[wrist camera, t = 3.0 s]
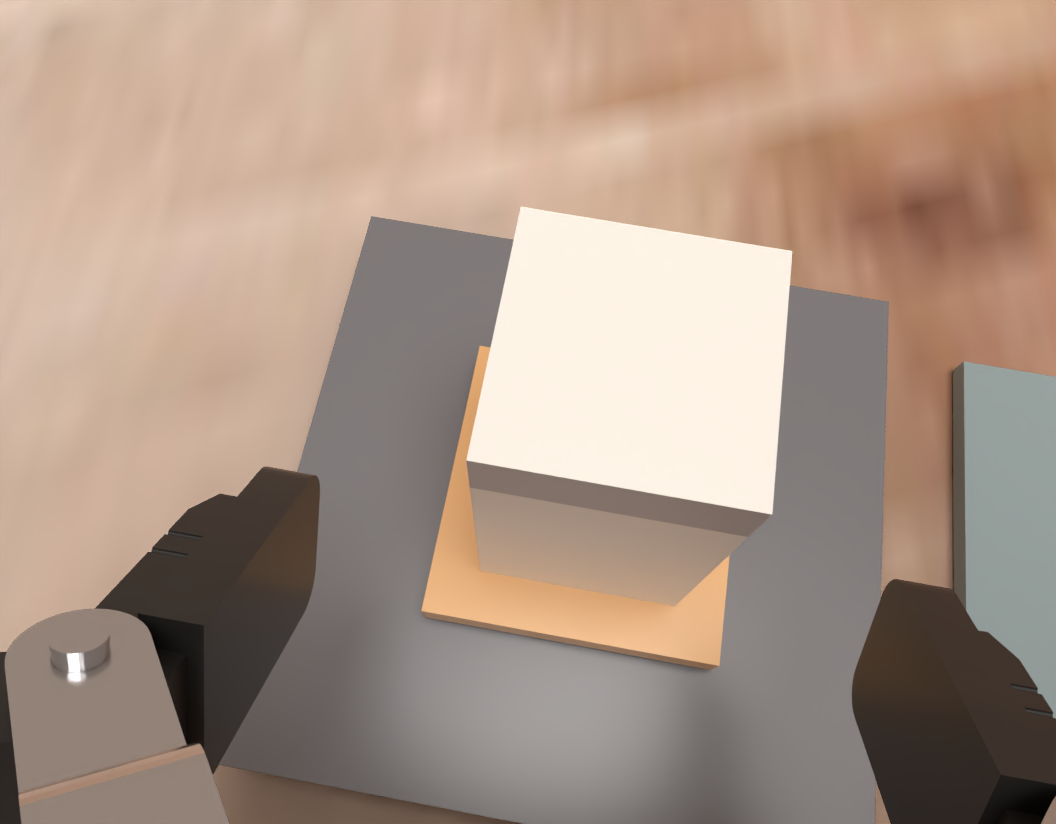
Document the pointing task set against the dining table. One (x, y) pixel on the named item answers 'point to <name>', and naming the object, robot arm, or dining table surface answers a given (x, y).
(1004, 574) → the mat
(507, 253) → the socket box
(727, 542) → the plug
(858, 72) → the dining table surface
